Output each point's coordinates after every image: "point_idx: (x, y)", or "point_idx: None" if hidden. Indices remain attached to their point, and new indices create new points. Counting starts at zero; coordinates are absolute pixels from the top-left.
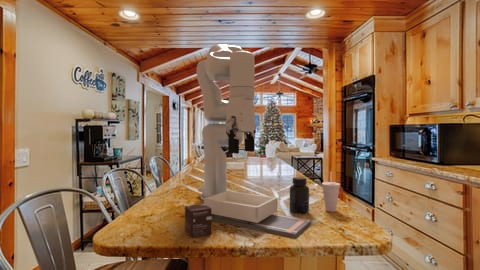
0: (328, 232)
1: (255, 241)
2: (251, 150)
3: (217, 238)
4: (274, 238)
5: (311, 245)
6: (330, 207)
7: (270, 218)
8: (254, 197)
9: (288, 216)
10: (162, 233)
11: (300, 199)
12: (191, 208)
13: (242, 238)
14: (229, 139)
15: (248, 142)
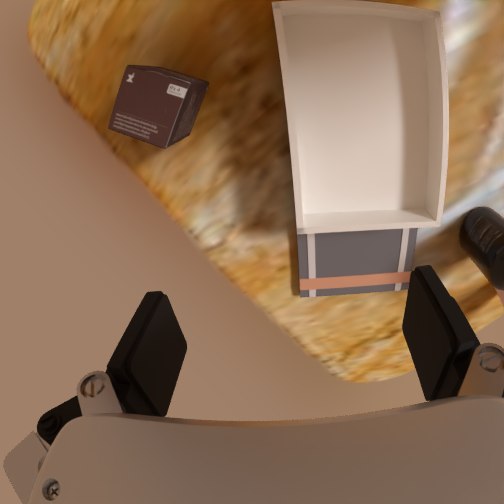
0: (364, 324)
1: (229, 240)
2: (404, 322)
3: (182, 164)
4: (271, 263)
5: (282, 323)
6: (497, 290)
7: None
8: (438, 137)
9: (413, 237)
10: (116, 44)
11: (477, 263)
12: (123, 103)
13: (223, 209)
14: (101, 380)
15: (429, 349)
